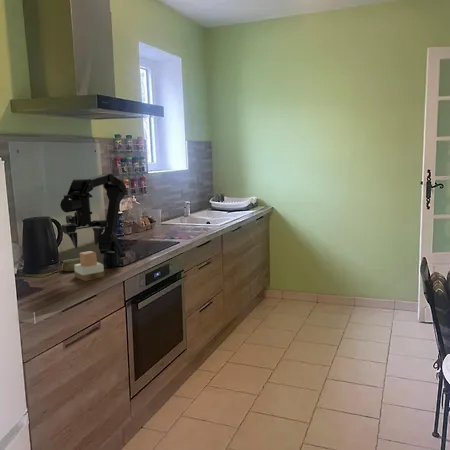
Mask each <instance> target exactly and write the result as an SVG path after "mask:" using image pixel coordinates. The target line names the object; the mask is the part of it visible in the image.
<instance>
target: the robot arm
mask: <svg viewBox="0 0 450 450" xmlns="http://www.w3.org/2000/svg"><path fill="white" fill-rule="evenodd" d="M99 186H102V187H103V189H104V190H105V191H106V197H107V199H108V205H107V210H106V211H107V212H106V219H95V220H92V215H93V211H91V203H90V198H91V199H92V198H93V195H92V194H91V193H90V192H92V191H93V190H94V188H96V187H99ZM126 191H127V186H126V184H125V183H124V182H123V181H122V180H121V179H119V178H118V177H116V176H114V175H113V173H102V174H100V175H97V176H91V177H89V178H80V179H79V178H78V179H77V178H76V179H73V180H71V184H70V186H69V189H68V190H67V194H64V195H63V198H62V199H61V201H60V204H59V205H60V206H59V207H60V209H61V211H63V212H64V213H72V212H74V216H72V215H71V214H70V215H66V216H65V222H66V224H61V225H60V232H61V233H64V234H65V235H67V236H68V237H69V238H70V240H71V242H72V245H73V246H74V248H75V249H78V232H76V231H77V230H82V229H89V228H92V231H93V241H94V245H95V246H98V247H97V248H98V249H99V252H100V255H103V257H102V260H103V267H104V268H107V269H115V268H118V267H122V266H123V265H122V264H121V260H120V258H121V257H120V255H122V253H123V247H122V246H121V244H120V243H119V237H118V234H117V225H118V220H119V219H118V218H119V211H120V203H121V202H122V200H123V199H124V197H125V195H126Z"/></svg>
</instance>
